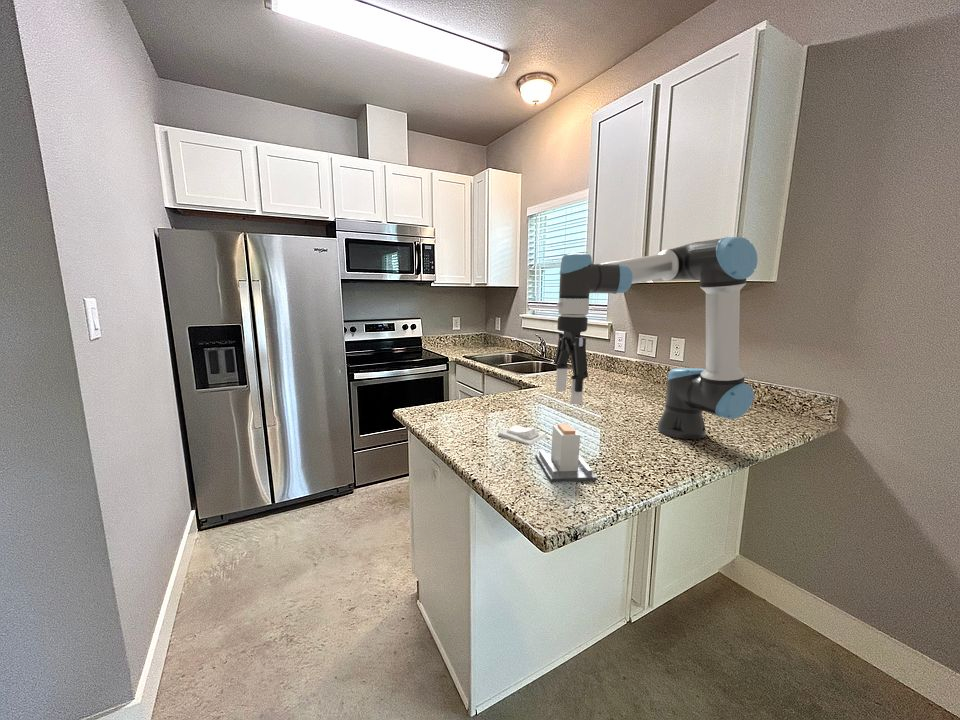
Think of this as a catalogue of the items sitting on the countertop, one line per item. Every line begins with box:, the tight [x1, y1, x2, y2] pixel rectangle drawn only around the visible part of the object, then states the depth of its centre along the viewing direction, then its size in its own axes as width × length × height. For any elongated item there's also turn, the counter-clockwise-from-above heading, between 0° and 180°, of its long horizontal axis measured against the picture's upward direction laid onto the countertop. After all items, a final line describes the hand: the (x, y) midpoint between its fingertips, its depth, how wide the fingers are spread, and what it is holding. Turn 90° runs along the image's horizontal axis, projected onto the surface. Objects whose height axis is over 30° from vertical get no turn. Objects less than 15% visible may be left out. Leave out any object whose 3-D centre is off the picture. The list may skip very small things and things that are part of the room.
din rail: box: [535, 449, 597, 483], centre depth 107 cm, size 12×16×2 cm
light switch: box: [497, 424, 547, 446], centre depth 130 cm, size 11×4×13 cm
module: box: [550, 422, 581, 471], centre depth 106 cm, size 5×8×11 cm, turn 6°
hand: (568, 397), depth 103 cm, fingers open, 12 cm apart
